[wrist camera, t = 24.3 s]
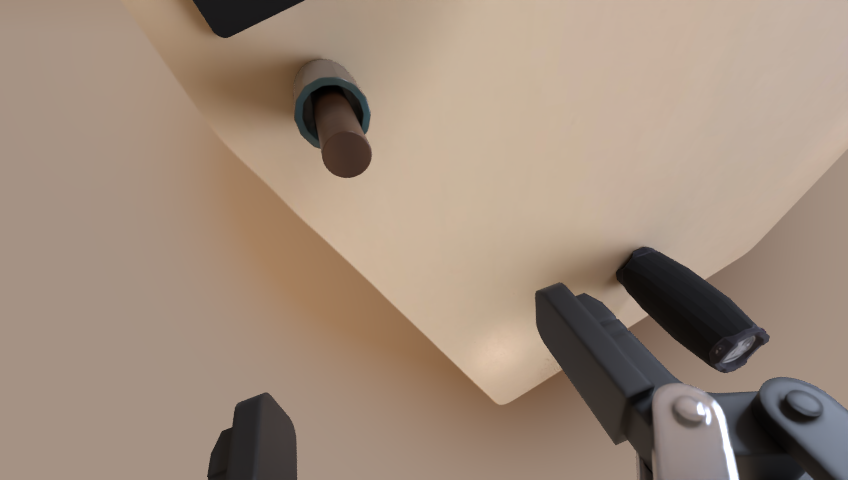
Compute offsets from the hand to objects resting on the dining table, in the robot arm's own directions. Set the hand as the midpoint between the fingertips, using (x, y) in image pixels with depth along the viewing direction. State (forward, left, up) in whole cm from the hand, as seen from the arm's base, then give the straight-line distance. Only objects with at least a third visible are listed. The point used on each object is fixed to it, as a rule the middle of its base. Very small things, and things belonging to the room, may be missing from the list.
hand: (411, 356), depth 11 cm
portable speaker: (+40, -41, -32) cm, 66 cm away
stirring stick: (0, 0, -32) cm, 32 cm away
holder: (0, 0, -32) cm, 32 cm away
